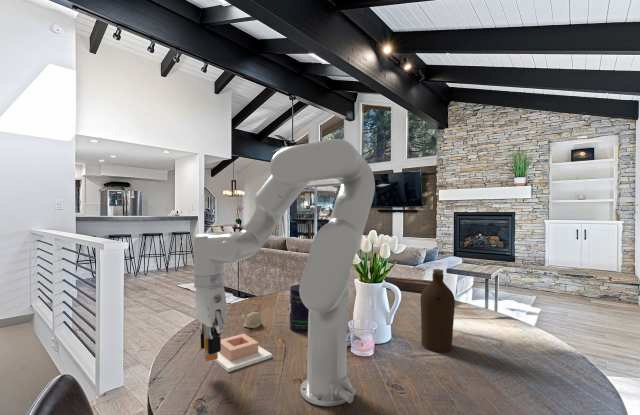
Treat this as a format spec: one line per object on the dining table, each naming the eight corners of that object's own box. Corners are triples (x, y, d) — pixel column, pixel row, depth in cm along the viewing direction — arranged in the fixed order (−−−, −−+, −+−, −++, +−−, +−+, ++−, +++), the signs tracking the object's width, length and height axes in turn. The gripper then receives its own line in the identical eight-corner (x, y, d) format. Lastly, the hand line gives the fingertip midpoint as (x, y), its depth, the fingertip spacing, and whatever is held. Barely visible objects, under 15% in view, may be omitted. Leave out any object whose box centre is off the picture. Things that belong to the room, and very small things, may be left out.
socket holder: (271, 357, 101) (272, 344, 101) (228, 372, 91) (228, 357, 91) (245, 340, 113) (245, 328, 113) (204, 352, 103) (204, 339, 103)
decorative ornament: (264, 325, 127) (264, 311, 127) (243, 330, 122) (243, 315, 122) (259, 322, 130) (259, 308, 130) (238, 327, 125) (238, 312, 125)
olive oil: (461, 351, 107) (462, 272, 107) (431, 354, 104) (432, 273, 104) (441, 338, 117) (442, 266, 117) (413, 341, 115) (415, 267, 114)
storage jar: (285, 331, 121) (286, 289, 121) (294, 322, 131) (294, 283, 131) (312, 334, 119) (313, 292, 119) (319, 324, 128) (319, 285, 128)
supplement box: (203, 356, 90) (202, 319, 90) (217, 354, 91) (216, 317, 91) (204, 361, 87) (203, 322, 87) (218, 359, 88) (217, 321, 88)
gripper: (237, 283, 85) (238, 355, 85) (209, 274, 98) (211, 337, 98) (208, 288, 81) (210, 365, 81) (183, 278, 93) (184, 344, 93)
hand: (210, 349), depth 89 cm, fingers closed on supplement box, 3 cm apart
